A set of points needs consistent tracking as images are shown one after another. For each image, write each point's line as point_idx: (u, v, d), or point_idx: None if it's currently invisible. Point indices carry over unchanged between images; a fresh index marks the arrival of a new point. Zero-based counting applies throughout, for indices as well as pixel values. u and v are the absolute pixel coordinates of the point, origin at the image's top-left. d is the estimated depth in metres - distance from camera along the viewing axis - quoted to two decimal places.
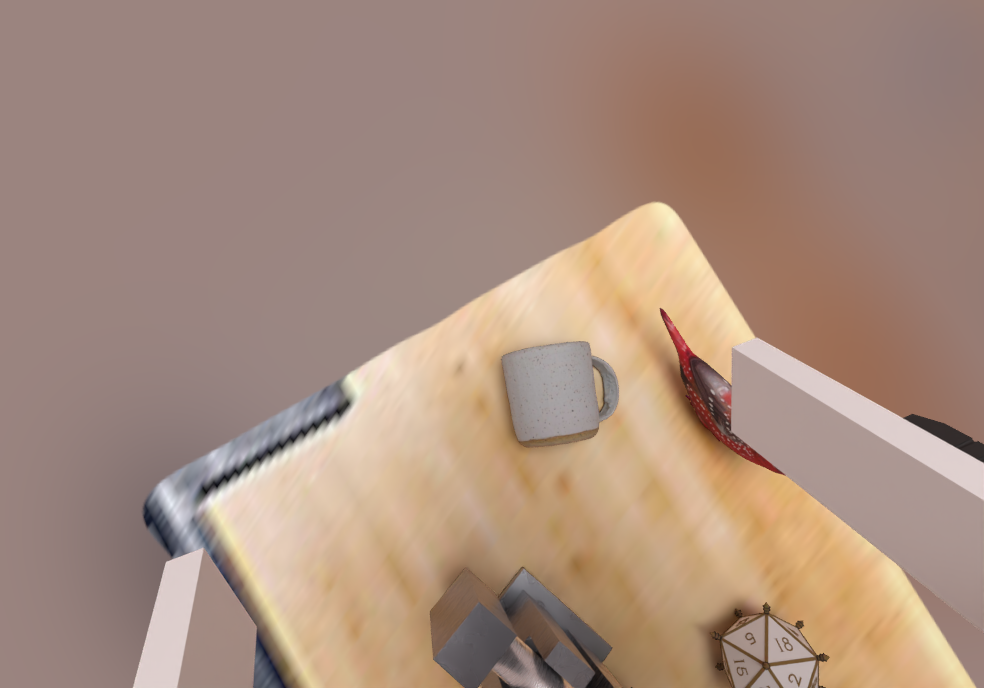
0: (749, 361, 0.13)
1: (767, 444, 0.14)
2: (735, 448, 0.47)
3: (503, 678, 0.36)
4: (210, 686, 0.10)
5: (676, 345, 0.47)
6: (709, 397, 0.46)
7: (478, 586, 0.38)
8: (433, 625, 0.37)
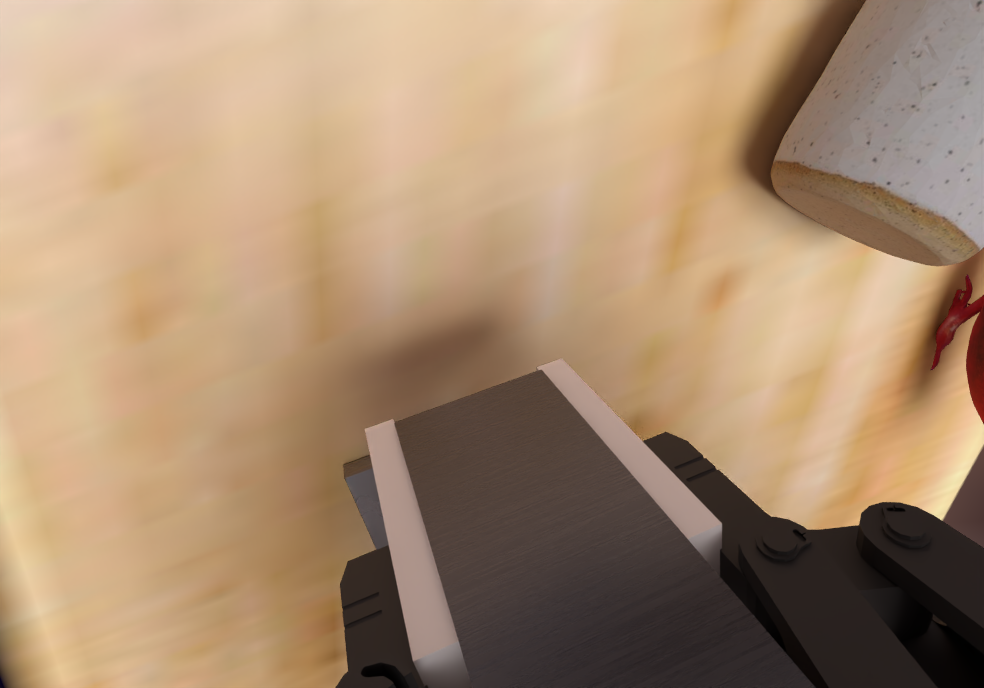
0: None
1: None
2: None
3: None
4: None
5: None
6: None
7: None
8: (437, 522, 0.10)
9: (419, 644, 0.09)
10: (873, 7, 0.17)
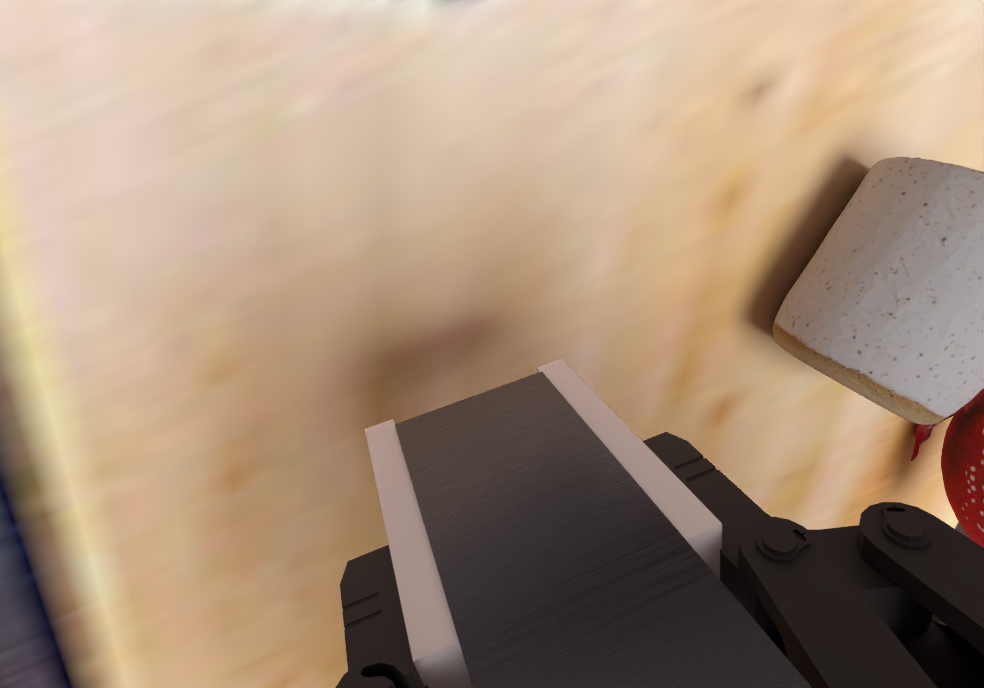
0: None
1: None
2: (979, 514, 0.28)
3: None
4: None
5: None
6: None
7: None
8: (438, 525, 0.11)
9: (419, 644, 0.09)
10: (859, 213, 0.20)
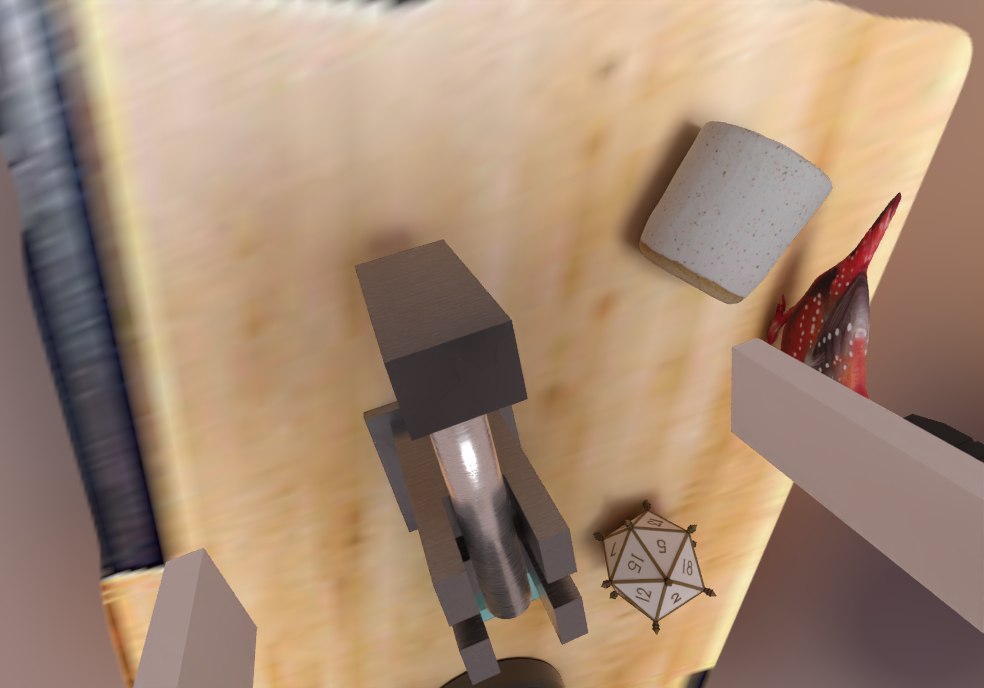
0: (749, 361, 0.13)
1: (767, 444, 0.14)
2: None
3: None
4: (209, 687, 0.10)
5: (862, 248, 0.33)
6: (839, 328, 0.35)
7: None
8: (370, 295, 0.21)
9: None
10: (686, 159, 0.30)
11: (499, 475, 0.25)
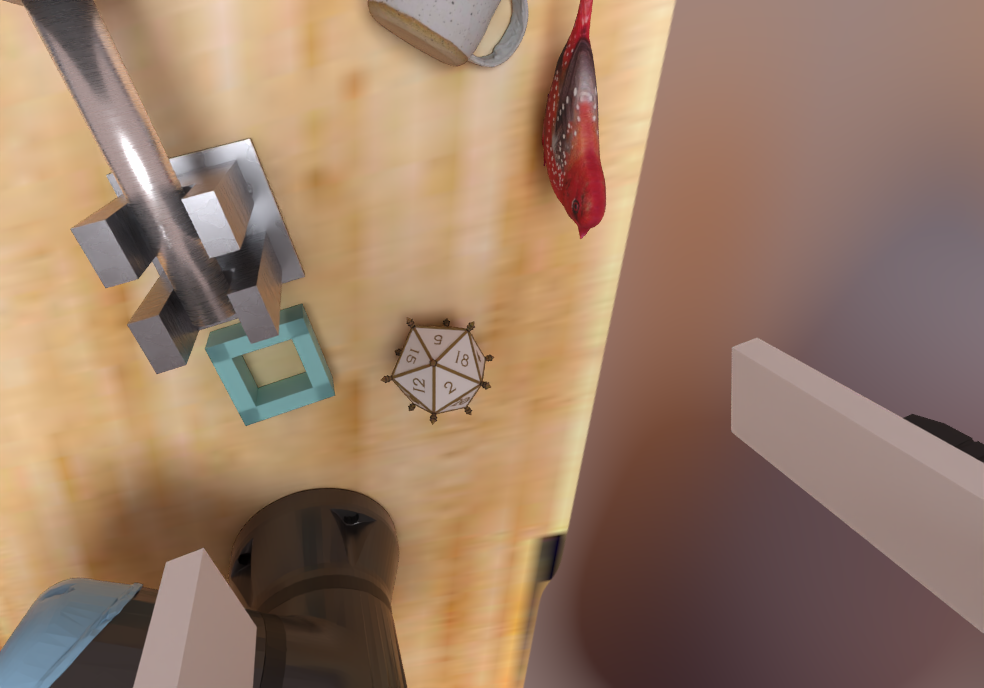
0: (749, 361, 0.13)
1: (767, 444, 0.14)
2: (552, 171, 0.40)
3: (53, 59, 0.24)
4: (210, 686, 0.10)
5: (579, 11, 0.35)
6: (568, 96, 0.37)
7: None
8: None
9: None
10: None
11: (155, 148, 0.27)
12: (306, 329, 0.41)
